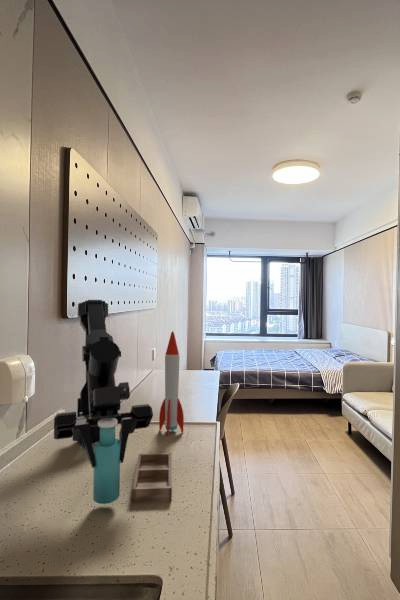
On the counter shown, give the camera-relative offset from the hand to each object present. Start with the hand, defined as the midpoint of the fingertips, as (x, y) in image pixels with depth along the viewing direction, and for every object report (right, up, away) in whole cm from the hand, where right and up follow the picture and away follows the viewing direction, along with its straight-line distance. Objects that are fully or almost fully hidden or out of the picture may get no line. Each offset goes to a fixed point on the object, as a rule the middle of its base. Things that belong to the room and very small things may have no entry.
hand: (108, 464), depth 63 cm
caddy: (+7, -9, +11) cm, 16 cm away
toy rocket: (+8, -9, +38) cm, 40 cm away
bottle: (-1, -7, +1) cm, 7 cm away
